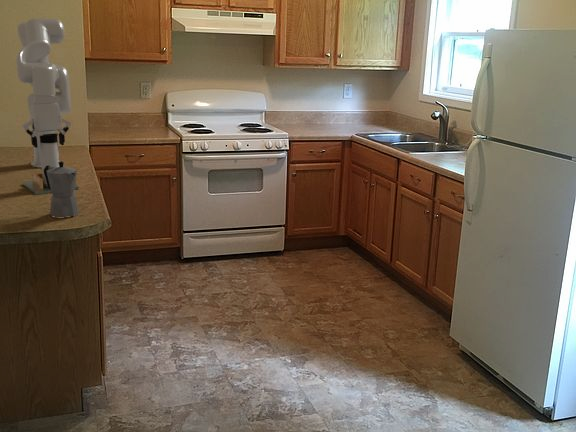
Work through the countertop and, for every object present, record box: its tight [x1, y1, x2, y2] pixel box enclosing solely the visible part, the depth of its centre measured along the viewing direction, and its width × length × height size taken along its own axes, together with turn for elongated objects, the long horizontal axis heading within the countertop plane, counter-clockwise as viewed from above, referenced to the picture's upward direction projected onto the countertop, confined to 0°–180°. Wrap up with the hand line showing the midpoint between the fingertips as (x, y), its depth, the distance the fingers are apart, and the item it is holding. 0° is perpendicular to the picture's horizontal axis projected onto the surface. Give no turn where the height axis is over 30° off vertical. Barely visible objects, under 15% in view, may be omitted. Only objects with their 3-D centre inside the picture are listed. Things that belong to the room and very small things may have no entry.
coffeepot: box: [44, 160, 80, 217], centre depth 208 cm, size 15×9×18 cm, turn 57°
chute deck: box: [21, 172, 80, 195], centre depth 242 cm, size 17×16×5 cm
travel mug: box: [40, 133, 60, 187], centre depth 238 cm, size 6×7×20 cm
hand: (48, 145), depth 237 cm, fingers open, 9 cm apart
